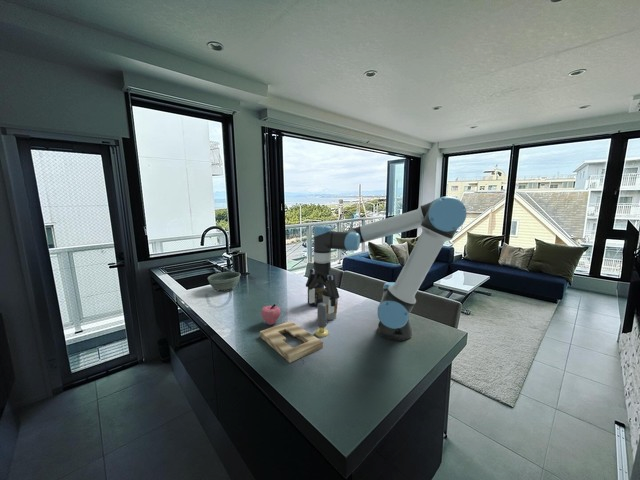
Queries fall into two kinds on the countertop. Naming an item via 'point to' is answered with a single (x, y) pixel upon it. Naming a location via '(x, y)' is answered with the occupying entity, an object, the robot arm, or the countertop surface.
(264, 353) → the countertop surface
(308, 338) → the keyhole board
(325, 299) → the coffee cup
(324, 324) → the peg
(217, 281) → the bowl
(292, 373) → the countertop surface
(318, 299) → the canister
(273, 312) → the apple
